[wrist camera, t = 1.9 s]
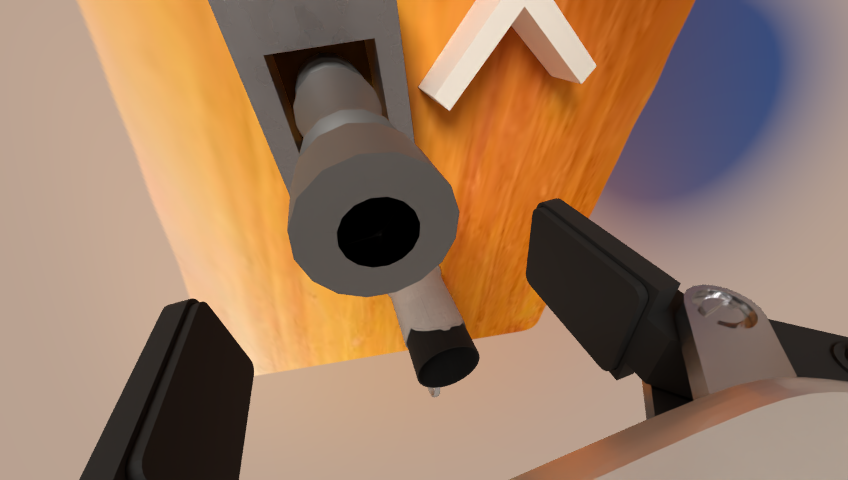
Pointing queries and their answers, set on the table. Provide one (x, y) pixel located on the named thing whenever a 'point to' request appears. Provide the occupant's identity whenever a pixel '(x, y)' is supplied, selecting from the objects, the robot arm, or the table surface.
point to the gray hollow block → (300, 29)
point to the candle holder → (362, 189)
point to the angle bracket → (483, 29)
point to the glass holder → (434, 333)
